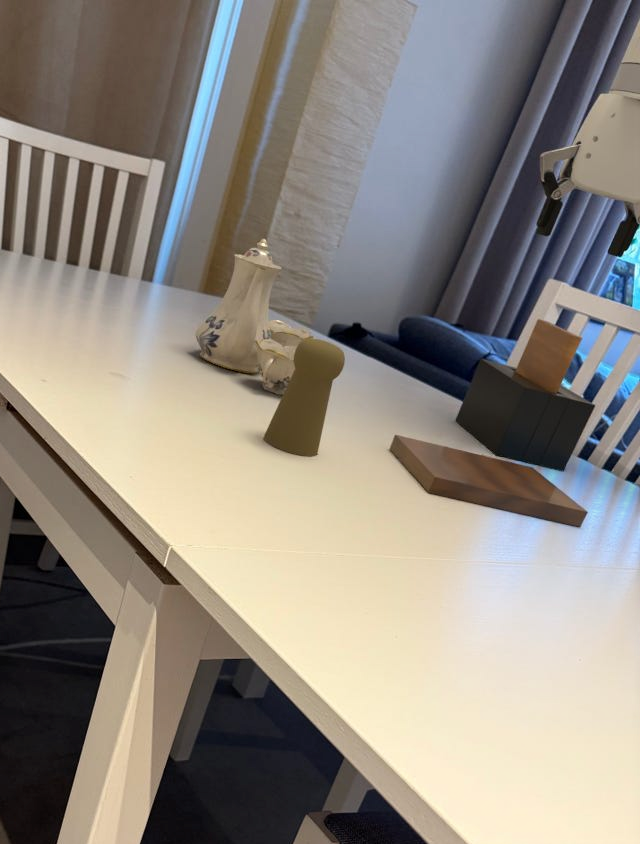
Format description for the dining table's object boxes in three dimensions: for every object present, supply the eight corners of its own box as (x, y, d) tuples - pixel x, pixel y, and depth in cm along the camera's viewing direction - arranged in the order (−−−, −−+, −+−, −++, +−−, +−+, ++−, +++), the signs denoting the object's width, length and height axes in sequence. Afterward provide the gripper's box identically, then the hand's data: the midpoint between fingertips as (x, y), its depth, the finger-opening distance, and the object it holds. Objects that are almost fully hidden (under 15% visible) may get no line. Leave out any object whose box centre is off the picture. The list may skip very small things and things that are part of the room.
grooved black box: (524, 437, 135) (552, 377, 131) (571, 473, 122) (604, 407, 118) (454, 420, 133) (480, 358, 129) (495, 455, 120) (525, 387, 116)
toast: (503, 421, 131) (547, 321, 124) (533, 443, 122) (582, 337, 116) (494, 418, 131) (537, 318, 124) (523, 441, 122) (572, 335, 115)
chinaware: (314, 422, 117) (373, 291, 109) (191, 375, 114) (243, 238, 106) (288, 371, 141) (335, 261, 134) (186, 331, 139) (228, 217, 131)
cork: (321, 460, 96) (358, 356, 91) (266, 446, 96) (300, 340, 91) (313, 443, 102) (348, 343, 97) (261, 429, 101) (292, 328, 96)
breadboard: (526, 481, 112) (532, 467, 111) (580, 527, 100) (588, 512, 99) (389, 449, 108) (394, 434, 107) (428, 492, 96) (435, 476, 95)
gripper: (697, 112, 112) (629, 260, 120) (564, 71, 110) (504, 224, 118) (729, 110, 105) (655, 267, 113) (589, 67, 103) (523, 229, 111)
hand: (578, 245), depth 115 cm, fingers open, 9 cm apart
